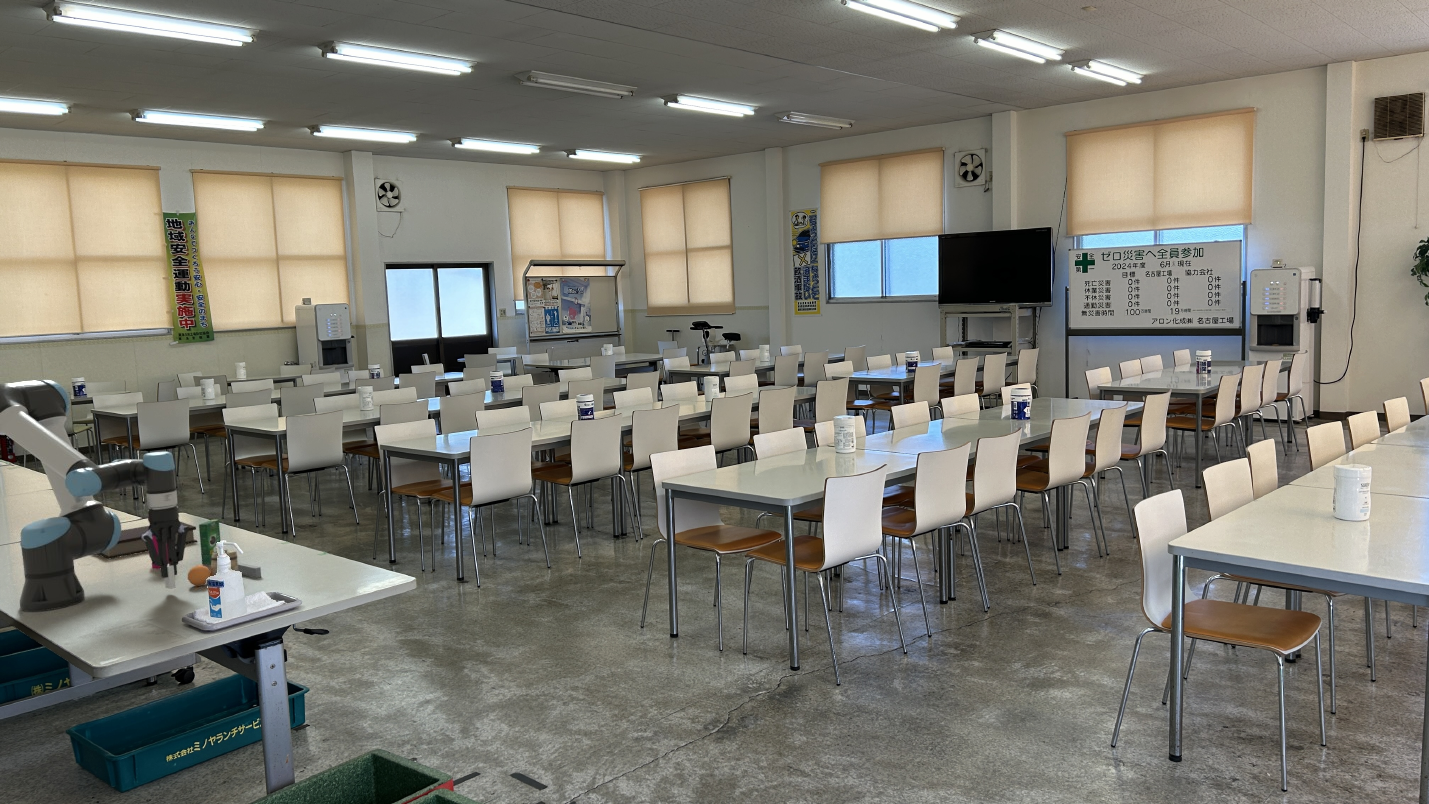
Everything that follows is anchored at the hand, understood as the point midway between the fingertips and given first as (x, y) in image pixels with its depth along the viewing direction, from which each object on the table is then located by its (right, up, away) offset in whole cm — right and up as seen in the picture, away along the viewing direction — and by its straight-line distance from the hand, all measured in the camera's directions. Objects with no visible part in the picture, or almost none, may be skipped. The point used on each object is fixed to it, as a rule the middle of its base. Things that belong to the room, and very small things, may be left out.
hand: (170, 587), depth 283 cm
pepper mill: (-20, 0, +33) cm, 38 cm away
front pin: (+7, 0, +11) cm, 13 cm away
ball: (+4, +2, +8) cm, 9 cm away
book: (-43, +2, +62) cm, 75 cm away
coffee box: (-7, +1, +37) cm, 37 cm away
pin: (+12, 0, +13) cm, 18 cm away
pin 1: (+8, 0, +16) cm, 18 cm away
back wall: (+13, 0, +19) cm, 23 cm away
